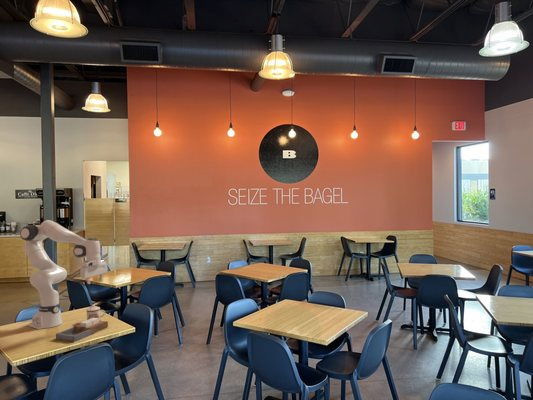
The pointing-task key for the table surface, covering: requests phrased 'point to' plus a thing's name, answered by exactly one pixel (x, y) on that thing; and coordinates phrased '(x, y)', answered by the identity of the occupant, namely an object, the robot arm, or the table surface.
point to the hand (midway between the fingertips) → (94, 282)
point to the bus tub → (72, 335)
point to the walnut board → (92, 327)
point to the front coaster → (86, 323)
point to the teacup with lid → (94, 312)
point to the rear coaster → (94, 320)
